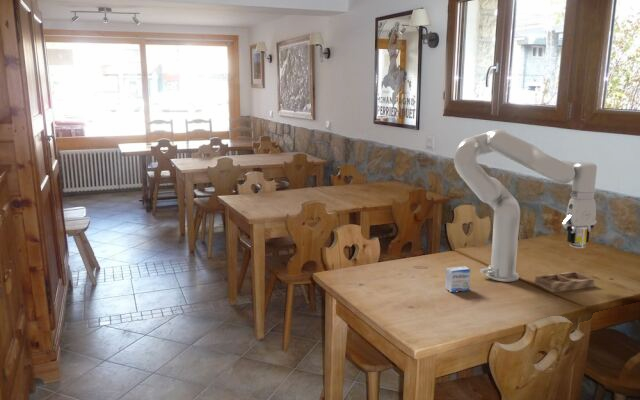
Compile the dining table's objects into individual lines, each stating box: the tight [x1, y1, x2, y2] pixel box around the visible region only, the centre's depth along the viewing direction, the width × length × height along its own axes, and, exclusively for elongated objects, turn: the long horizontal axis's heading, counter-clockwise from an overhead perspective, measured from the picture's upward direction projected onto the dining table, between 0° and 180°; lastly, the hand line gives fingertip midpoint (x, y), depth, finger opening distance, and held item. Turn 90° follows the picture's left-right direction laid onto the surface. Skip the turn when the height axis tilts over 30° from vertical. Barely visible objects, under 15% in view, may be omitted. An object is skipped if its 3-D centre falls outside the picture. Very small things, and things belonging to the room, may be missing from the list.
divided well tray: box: [534, 270, 595, 293], centre depth 198 cm, size 19×10×3 cm, turn 106°
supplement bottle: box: [569, 226, 587, 249], centre depth 195 cm, size 6×6×10 cm
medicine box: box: [445, 265, 471, 293], centre depth 194 cm, size 8×4×9 cm, turn 105°
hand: (577, 241), depth 196 cm, fingers closed on supplement bottle, 5 cm apart
